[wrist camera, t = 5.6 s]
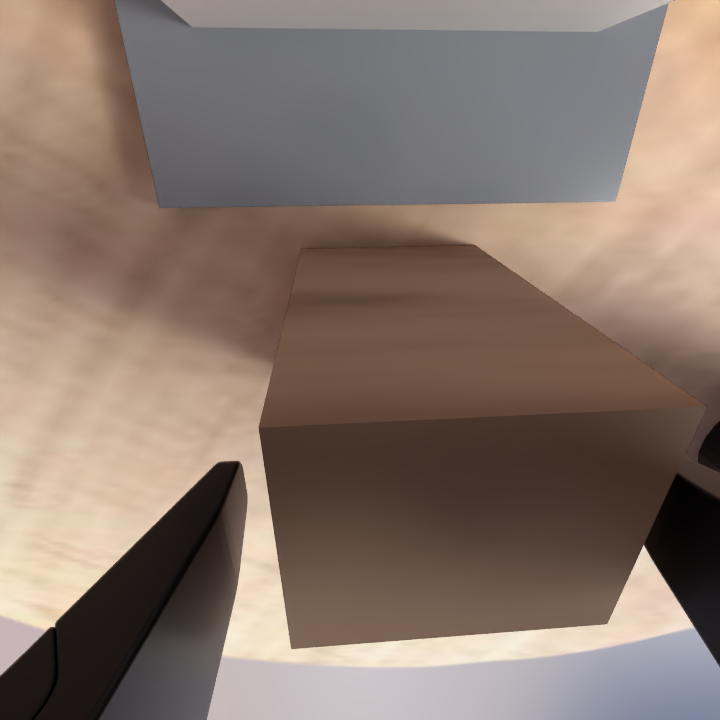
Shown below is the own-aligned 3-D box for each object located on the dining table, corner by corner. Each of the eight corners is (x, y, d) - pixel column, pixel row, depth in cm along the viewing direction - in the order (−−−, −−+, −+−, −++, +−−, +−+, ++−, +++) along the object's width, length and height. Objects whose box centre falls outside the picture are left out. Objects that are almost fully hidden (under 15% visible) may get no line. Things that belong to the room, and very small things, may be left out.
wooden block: (459, 370, 17) (607, 624, 8) (310, 376, 16) (291, 648, 8) (474, 244, 14) (707, 406, 6) (301, 248, 14) (258, 427, 5)
